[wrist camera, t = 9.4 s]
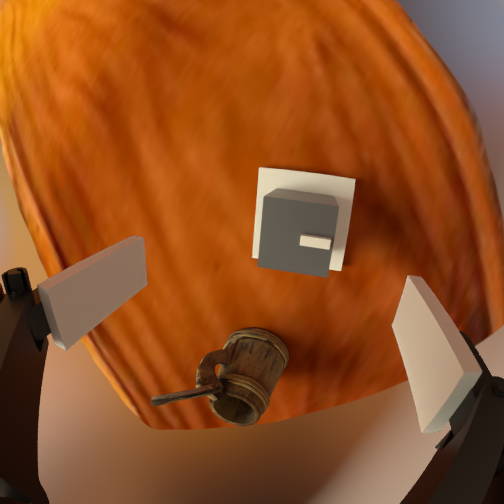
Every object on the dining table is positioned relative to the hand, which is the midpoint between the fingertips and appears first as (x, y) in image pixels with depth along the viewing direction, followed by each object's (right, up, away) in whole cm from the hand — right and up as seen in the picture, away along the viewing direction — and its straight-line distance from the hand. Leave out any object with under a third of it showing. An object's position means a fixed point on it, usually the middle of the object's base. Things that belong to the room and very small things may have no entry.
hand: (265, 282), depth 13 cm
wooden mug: (-1, -11, +24) cm, 27 cm away
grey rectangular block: (+5, +5, +16) cm, 17 cm away
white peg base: (+5, +5, +17) cm, 19 cm away
